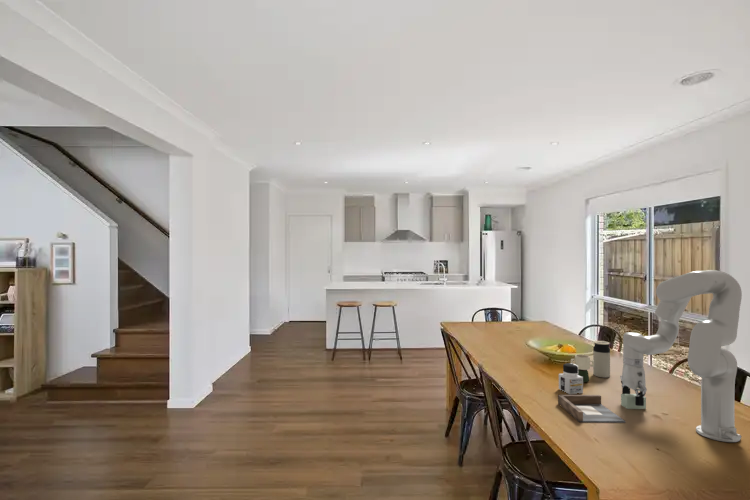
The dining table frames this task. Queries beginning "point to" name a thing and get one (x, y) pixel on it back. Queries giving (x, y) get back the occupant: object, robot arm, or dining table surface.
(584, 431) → the dining table surface
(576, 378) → the container
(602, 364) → the travel mug
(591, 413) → the shallow tray
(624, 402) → the sage block
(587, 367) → the character mug
